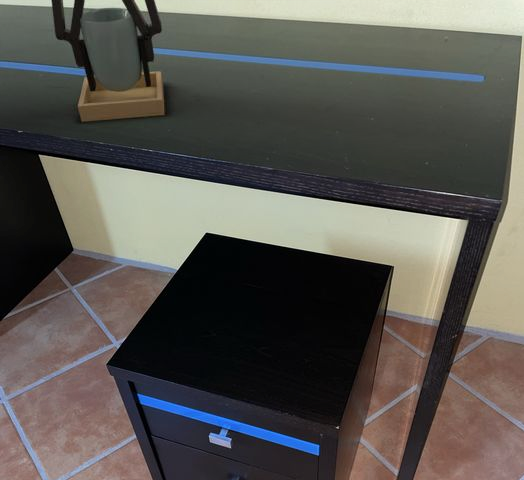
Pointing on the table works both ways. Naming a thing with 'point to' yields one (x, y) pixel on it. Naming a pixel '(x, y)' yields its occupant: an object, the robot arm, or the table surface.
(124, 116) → the tray
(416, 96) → the table surface
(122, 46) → the cup
